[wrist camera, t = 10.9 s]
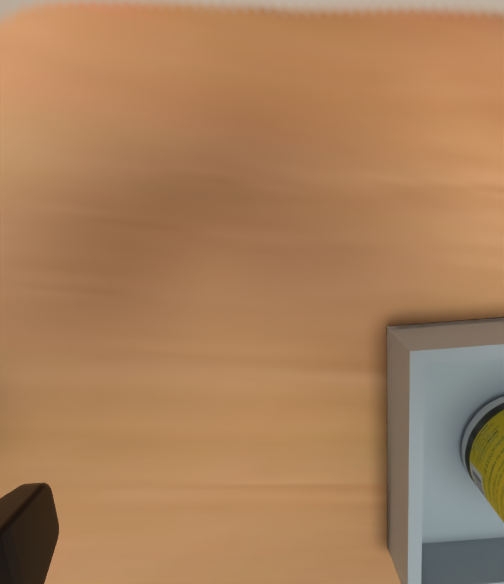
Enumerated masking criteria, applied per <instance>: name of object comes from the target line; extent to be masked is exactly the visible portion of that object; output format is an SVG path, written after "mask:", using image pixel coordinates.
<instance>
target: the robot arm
mask: <svg viewBox="0 0 504 584" xmlns="http://www.w3.org/2000/svg"><path fill="white" fill-rule="evenodd" d="M58 534H59V523H58V518H57V513H56V508H55V504H54V499H53V494H52V490H51V488H50V486H49V485H48V484H46V483H32V484H23V485H21V486H19V487H17V488H16V489H14V490H13V491H11V492H10V493H8V494H7V495H5V496H3V497H2V498H0V584H44V583H45V579H46V576H47V573H48V569H49V566H50V563H51V560H52V556H53V553H54V550H55V546H56V543H57V540H58Z"/></svg>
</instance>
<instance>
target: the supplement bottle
mask: <svg viewBox="0 0 504 584" xmlns="http://www.w3.org/2000/svg"><path fill="white" fill-rule="evenodd" d="M462 459H463V463H464V466H465V469H466V471H467V473H468V474H469V476H470V477H471V479H472V480H473V482H474V483H475V485H476V486H477V487H478V489H479V490H480V492H481V493H482V494H483V495H484V497H485V498H486V500H487V501H488V502H489V504H490V505H491V506H492V507H493V509H494V510H495V512H496V513H497V514H498V516H499V517H500V518H501V520H502V521H503V522H504V396H502V397H500V398H497V399H495V400H493V401H492V402H490V403H488V404H487V405H486V406H484V407H483V408H482V409H481V410H480V411H479V412H478V413H477V414H476V415H475V416H474V418H473V419H472V420H471V422H470V423H469V425H468V427H467V429H466V431H465V434H464V437H463V441H462Z"/></svg>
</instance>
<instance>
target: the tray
mask: <svg viewBox="0 0 504 584" xmlns="http://www.w3.org/2000/svg"><path fill="white" fill-rule="evenodd" d="M502 396H504V317H502V318H489V319H476V320H463V321H450V322H437V323H424V324H411V325H398V326H387V485H388V550H389V553H390V555H391V558H392V561H393V563H394V566H395V568H396V571H397V574H398V576H399V579H400V582H401V584H504V522H503V521H502V520H501V518H500V517H499V516H498V514H497V513H496V512H495V510H494V509H493V507H492V506H491V505H490V504H489V502H488V501H487V500H486V498H485V497H484V495H483V494H482V493H481V492H480V490H479V489H478V487H477V486H476V485H475V483H474V482H473V480H472V479H471V477H470V476H469V474H468V473H467V471H466V469H465V466H464V463H463V459H462V441H463V437H464V434H465V431H466V429H467V427H468V425H469V423H470V422H471V420H472V419H473V418H474V416H475V415H476V414H477V413H478V412H479V411H480V410H481V409H482V408H483V407H484V406H486V405H487V404H488V403H490V402H492V401H493V400H495V399H497V398H500V397H502Z"/></svg>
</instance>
